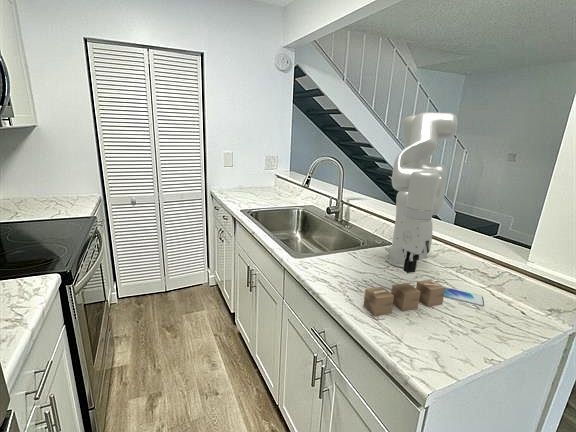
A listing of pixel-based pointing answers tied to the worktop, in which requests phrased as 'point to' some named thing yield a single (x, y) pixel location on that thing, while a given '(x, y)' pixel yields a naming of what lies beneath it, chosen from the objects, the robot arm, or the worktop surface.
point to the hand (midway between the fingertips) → (409, 271)
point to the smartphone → (464, 296)
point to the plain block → (405, 296)
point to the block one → (378, 301)
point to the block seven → (430, 292)
